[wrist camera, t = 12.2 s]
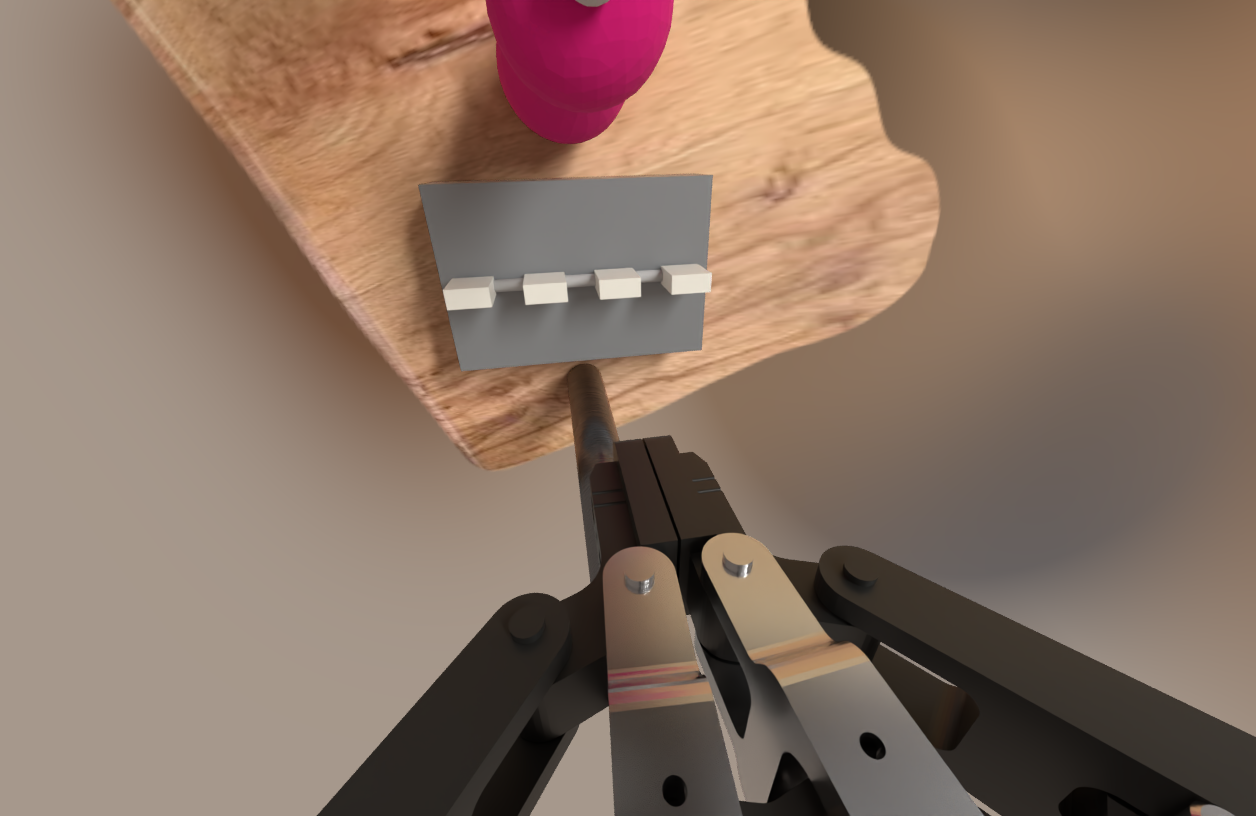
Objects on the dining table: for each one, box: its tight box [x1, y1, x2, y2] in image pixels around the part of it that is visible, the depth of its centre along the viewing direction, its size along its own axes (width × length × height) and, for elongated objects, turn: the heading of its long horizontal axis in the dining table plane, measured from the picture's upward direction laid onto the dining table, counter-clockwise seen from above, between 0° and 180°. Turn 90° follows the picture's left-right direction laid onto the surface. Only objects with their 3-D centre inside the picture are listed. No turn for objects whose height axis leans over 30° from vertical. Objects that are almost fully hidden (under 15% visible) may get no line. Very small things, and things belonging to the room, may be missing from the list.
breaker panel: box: [418, 174, 713, 371], centre depth 32 cm, size 12×18×4 cm, turn 91°
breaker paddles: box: [443, 264, 712, 310], centre depth 29 cm, size 1×16×3 cm, turn 91°
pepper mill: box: [486, 0, 674, 144], centre depth 19 cm, size 7×7×20 cm
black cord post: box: [567, 364, 620, 582], centre depth 29 cm, size 3×3×22 cm
